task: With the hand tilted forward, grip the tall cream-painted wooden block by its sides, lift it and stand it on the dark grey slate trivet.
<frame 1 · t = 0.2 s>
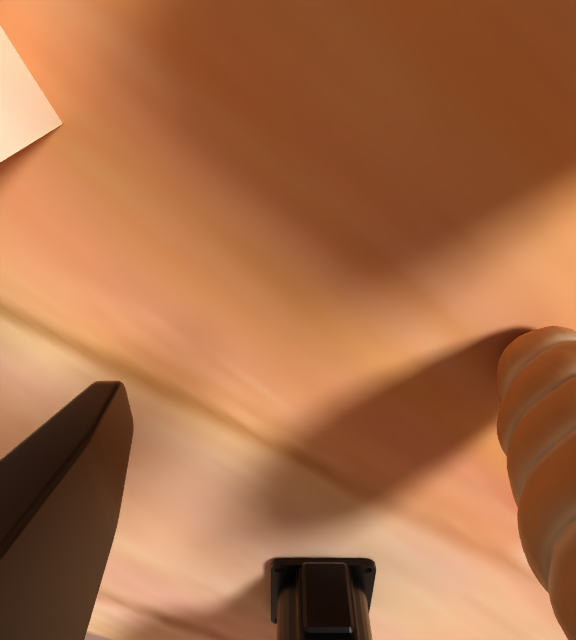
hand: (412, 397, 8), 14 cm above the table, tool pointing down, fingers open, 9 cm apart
spiral seashell: (529, 347, 26), on the table
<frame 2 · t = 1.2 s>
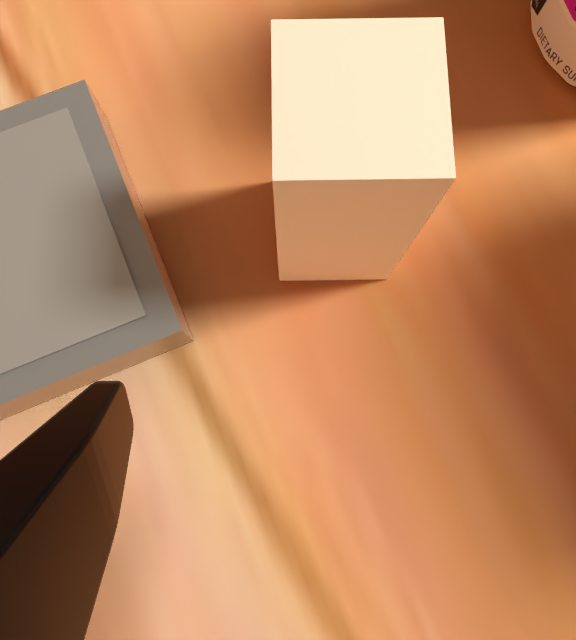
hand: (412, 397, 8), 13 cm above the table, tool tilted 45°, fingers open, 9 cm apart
cream block: (331, 228, 23), on the table
trivet: (24, 271, 23), on the table
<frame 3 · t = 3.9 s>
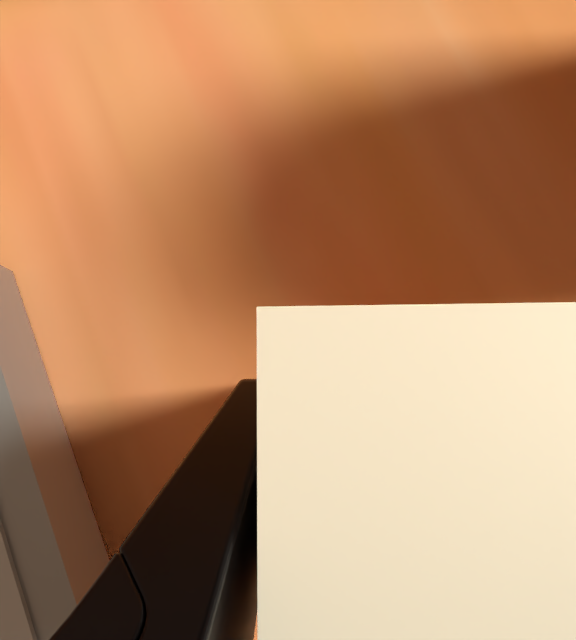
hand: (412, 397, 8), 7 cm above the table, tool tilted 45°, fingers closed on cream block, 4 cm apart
cream block: (360, 460, 15), on the table, touching gripper
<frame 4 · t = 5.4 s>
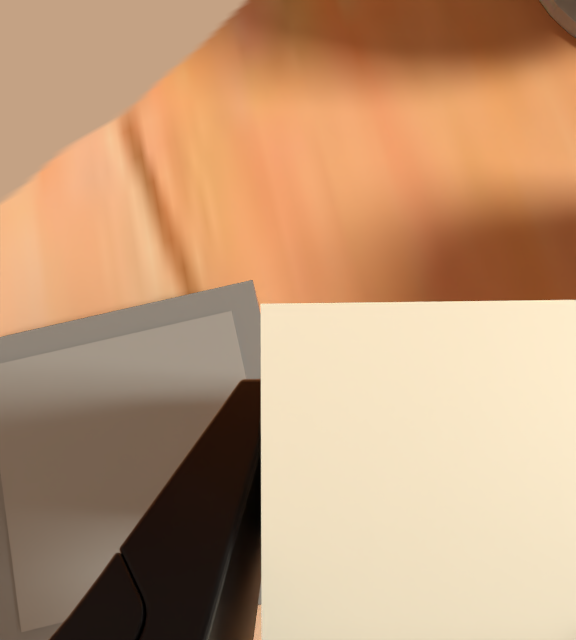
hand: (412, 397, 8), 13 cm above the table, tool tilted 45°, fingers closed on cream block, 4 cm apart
cream block: (361, 459, 15), point 7 cm above the table, touching gripper
trivet: (151, 457, 21), on the table
when the fingers open (10 cm above the table, at t = 7.0 s): cream block stays where it is, resting on trivet.
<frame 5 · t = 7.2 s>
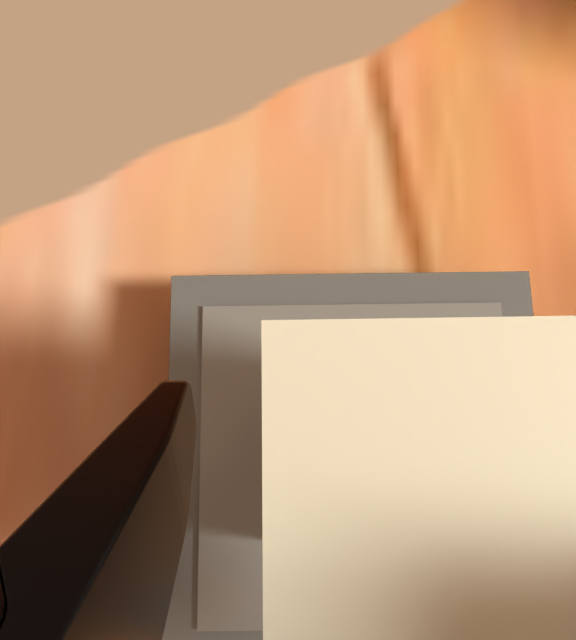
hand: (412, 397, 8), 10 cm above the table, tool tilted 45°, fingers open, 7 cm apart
cream block: (357, 457, 15), point 3 cm above the table, touching trivet
trivet: (347, 452, 18), on the table
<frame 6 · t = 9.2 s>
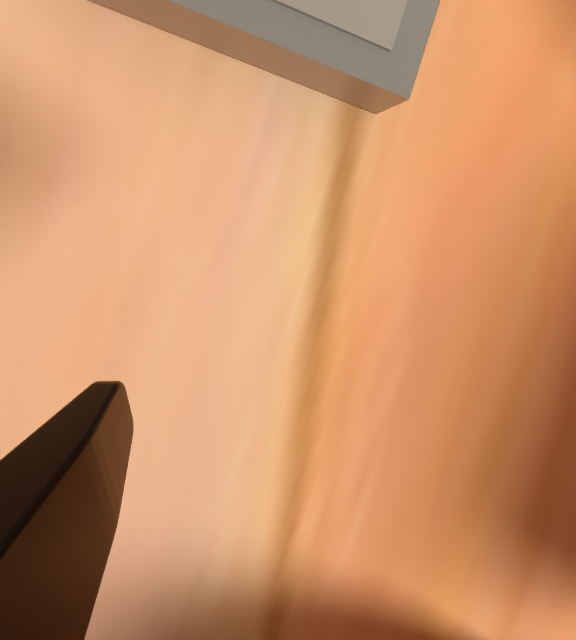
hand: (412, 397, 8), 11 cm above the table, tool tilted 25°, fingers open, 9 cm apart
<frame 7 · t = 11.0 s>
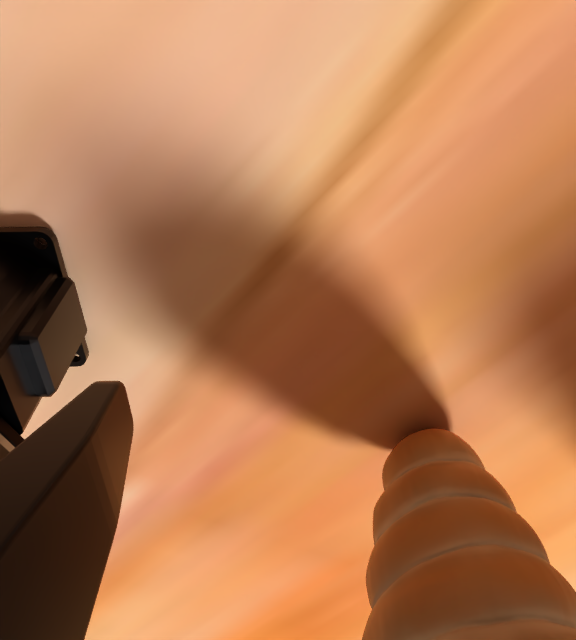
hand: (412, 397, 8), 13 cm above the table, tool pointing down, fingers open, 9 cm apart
spiral seashell: (423, 438, 28), on the table
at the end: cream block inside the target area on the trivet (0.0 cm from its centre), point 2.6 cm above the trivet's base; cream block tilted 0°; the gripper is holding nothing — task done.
